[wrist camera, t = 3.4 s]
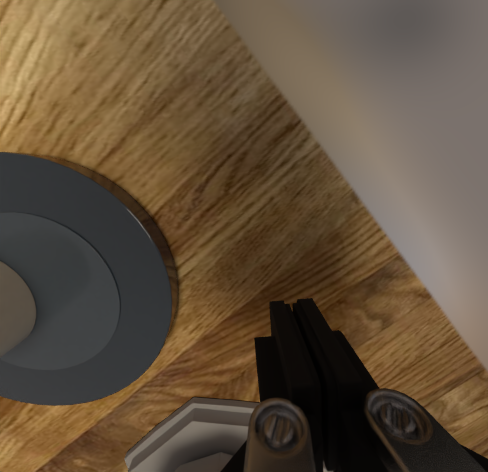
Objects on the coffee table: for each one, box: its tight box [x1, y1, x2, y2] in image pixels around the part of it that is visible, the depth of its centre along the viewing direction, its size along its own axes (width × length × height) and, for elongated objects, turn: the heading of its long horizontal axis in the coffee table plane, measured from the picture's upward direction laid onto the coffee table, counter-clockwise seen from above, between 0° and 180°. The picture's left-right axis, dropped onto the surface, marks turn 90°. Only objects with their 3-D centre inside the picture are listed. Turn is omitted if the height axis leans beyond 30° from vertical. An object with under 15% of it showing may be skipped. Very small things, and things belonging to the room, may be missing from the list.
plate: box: [0, 152, 178, 406], centre depth 14 cm, size 16×16×2 cm
